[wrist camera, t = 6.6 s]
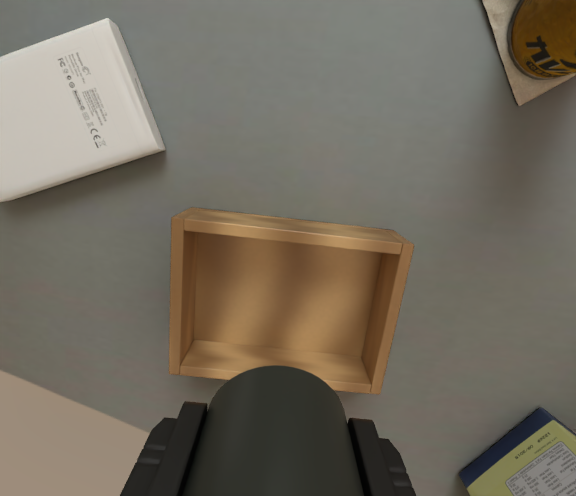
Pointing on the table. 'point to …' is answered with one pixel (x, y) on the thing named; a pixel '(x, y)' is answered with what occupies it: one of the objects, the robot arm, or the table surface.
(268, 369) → the sushi roll
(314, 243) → the bento box
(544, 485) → the protein box
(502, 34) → the condiment
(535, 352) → the table surface
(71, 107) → the hard drive
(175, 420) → the robot arm
